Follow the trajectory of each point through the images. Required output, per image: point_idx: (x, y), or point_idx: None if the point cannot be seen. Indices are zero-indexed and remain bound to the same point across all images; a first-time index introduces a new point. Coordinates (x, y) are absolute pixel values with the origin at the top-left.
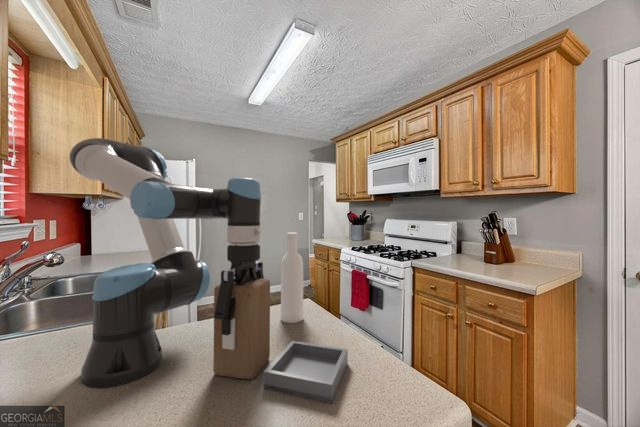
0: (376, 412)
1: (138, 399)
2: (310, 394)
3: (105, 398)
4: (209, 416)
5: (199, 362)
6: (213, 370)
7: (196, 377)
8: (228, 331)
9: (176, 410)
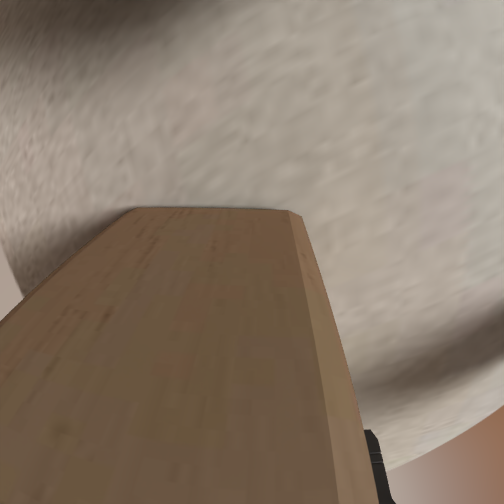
0: None
1: (9, 79)
2: None
3: (10, 6)
4: (27, 289)
5: (204, 86)
6: (124, 214)
7: (110, 152)
8: None
9: (8, 207)
